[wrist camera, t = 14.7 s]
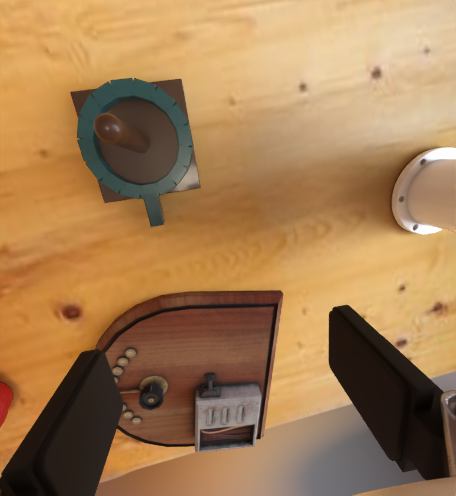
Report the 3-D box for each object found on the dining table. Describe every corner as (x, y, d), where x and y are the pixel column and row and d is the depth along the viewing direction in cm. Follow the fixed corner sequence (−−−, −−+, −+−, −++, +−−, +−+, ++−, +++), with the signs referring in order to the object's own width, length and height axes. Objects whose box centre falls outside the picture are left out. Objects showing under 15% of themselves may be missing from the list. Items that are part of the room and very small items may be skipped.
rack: (181, 82, 28) (171, 10, 15) (200, 187, 32) (203, 198, 19) (75, 95, 27) (-29, 29, 14) (107, 201, 31) (48, 223, 18)
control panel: (269, 460, 43) (89, 481, 38) (261, 430, 47) (101, 446, 43) (293, 308, 33) (59, 313, 29) (280, 290, 38) (78, 293, 34)
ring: (181, 77, 27) (180, 72, 25) (205, 215, 32) (205, 217, 30) (67, 91, 26) (59, 86, 24) (111, 231, 31) (107, 234, 29)
